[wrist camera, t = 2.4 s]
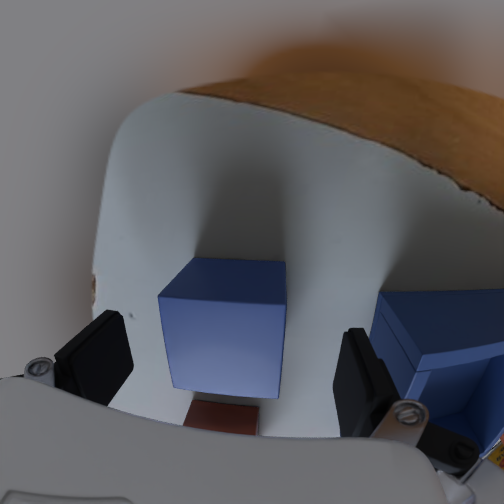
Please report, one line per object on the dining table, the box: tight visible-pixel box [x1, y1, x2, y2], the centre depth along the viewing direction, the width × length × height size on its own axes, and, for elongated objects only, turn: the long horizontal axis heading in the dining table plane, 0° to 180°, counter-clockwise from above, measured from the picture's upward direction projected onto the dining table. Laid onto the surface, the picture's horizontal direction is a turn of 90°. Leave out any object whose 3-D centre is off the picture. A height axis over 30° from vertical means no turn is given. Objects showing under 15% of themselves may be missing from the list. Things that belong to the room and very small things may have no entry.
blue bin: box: [340, 289, 504, 457], centre depth 12 cm, size 12×12×6 cm
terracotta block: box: [183, 400, 259, 436], centre depth 15 cm, size 4×4×4 cm
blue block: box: [158, 258, 287, 399], centre depth 12 cm, size 4×4×4 cm
